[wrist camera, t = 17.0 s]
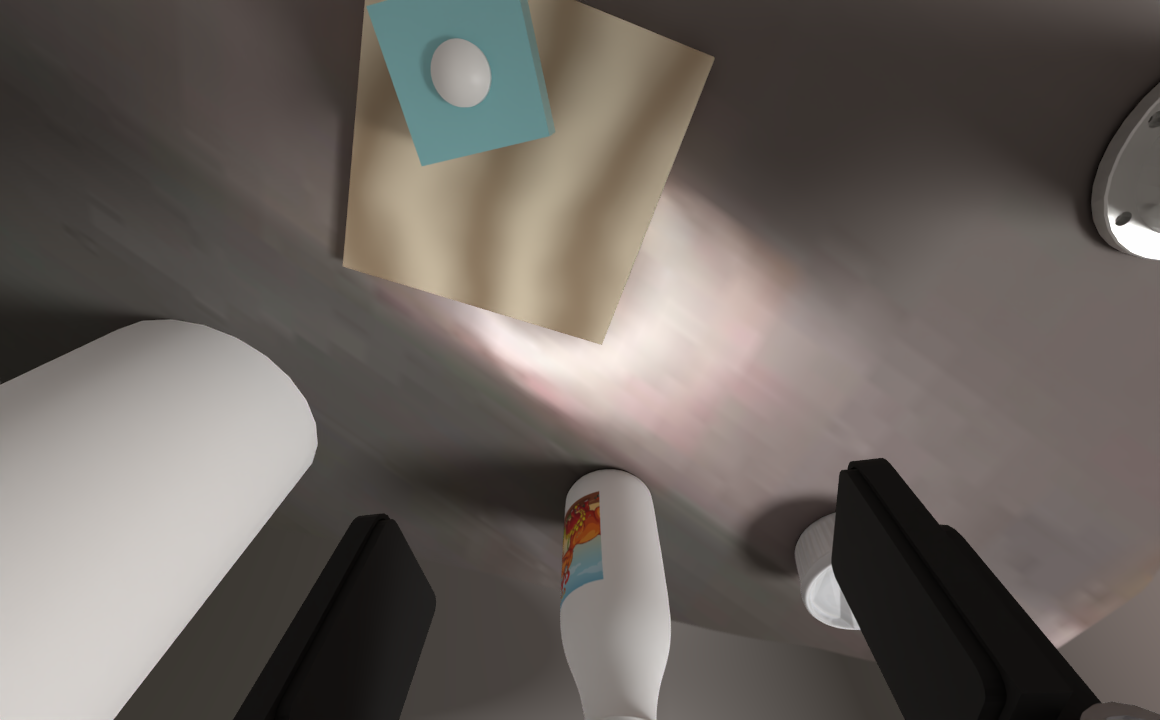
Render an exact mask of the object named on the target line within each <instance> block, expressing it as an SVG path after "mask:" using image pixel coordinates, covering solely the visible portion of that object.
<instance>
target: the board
mask: <svg viewBox="0 0 1160 720" xmlns="http://www.w3.org/2000/svg"><path fill="white" fill-rule="evenodd" d="M383 1H386V0H365V6H364V18H363V30H362V42H361V54H360V66H359V78H358V90H357V102H356V114H355V126H354V138H353V150H352V162H351V174H350V186H349V198H348V210H347V222H346V234H345V246H344V258H343V267H347V268H350V269H353V270H357V271H360V272H363V273H366V274H370V275H373V276H376V277H380V278H383V279H386V280H390V281H393V282H396V283H399V284H403V285H406V286H409V287H413V288H416V289H419V290H423V291H426V292H429V293H433V294H436V295H439V296H442V297H446V298H449V299H452V300H456V301H459V302H462V303H466V304H469V305H472V306H475V307H479V308H482V309H485V310H489V311H492V312H495V313H499V314H502V315H505V316H509V317H512V318H515V319H518V320H522V321H525V322H528V323H532V324H535V325H538V326H542V327H545V328H548V329H551V330H555V331H558V332H561V333H565V334H568V335H571V336H575V337H578V338H581V339H584V340H588V341H591V342H594V343H598V344H601V345H602V343H603V340H604V338H605V335H606V333H607V330H608V328H609V325H610V323H611V320H612V317H613V315H614V312H615V310H616V307H617V305H618V302H619V300H620V297H621V295H622V292H623V290H624V287H625V285H626V282H627V279H628V277H629V274H630V272H631V269H632V267H633V264H634V262H635V259H636V257H637V254H638V252H639V249H640V246H641V244H642V241H643V239H644V236H645V234H646V231H647V229H648V226H649V224H650V221H651V219H652V216H653V214H654V211H655V208H656V206H657V203H658V201H659V198H660V196H661V193H662V191H663V188H664V186H665V183H666V181H667V178H668V176H669V173H670V170H671V168H672V165H673V163H674V160H675V158H676V155H677V153H678V150H679V148H680V145H681V143H682V140H683V137H684V135H685V132H686V130H687V127H688V125H689V122H690V120H691V117H692V115H693V112H694V110H695V107H696V105H697V102H698V99H699V97H700V94H701V92H702V89H703V87H704V84H705V82H706V79H707V77H708V74H709V72H710V69H711V67H712V64H713V61H714V59H715V57H713V56H710V55H708V54H706V53H703V52H701V51H698V50H696V49H693V48H691V47H688V46H686V45H683V44H681V43H679V42H676V41H674V40H671V39H669V38H666V37H664V36H661V35H659V34H657V33H654V32H652V31H649V30H647V29H644V28H642V27H639V26H637V25H634V24H632V23H630V22H627V21H625V20H622V19H620V18H617V17H615V16H612V15H610V14H608V13H605V12H603V11H600V10H598V9H595V8H593V7H590V6H588V5H585V4H583V3H581V2H578V1H576V0H528V5H529V10H530V14H531V19H532V24H533V28H534V33H535V38H536V42H537V47H538V52H539V57H540V61H541V66H542V71H543V75H544V80H545V85H546V89H547V94H548V99H549V104H550V108H551V113H552V118H553V122H554V127H555V133H553V134H552V135H551V136H548V137H544V138H540V139H536V140H531V141H527V142H523V143H519V144H514V145H510V146H506V147H502V148H498V149H493V150H489V151H485V152H481V153H476V154H472V155H468V156H464V157H460V158H455V159H451V160H447V161H443V162H438V163H434V164H430V165H426V166H421V163H420V160H419V157H418V154H417V151H416V148H415V146H414V143H413V140H412V137H411V134H410V131H409V128H408V125H407V122H406V120H405V117H404V114H403V111H402V108H401V105H400V102H399V99H398V97H397V94H396V91H395V88H394V85H393V82H392V79H391V76H390V73H389V71H388V68H387V65H386V62H385V59H384V56H383V53H382V50H381V48H380V45H379V42H378V39H377V36H376V33H375V30H374V27H373V24H372V22H371V19H370V16H369V13H368V10H367V7H366V6H368V5H372V4H376V3H379V2H383Z"/></svg>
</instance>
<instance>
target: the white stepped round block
mask: <svg viewBox="0 0 1160 720" xmlns="http://www.w3.org/2000/svg"><path fill="white" fill-rule="evenodd" d="M317 445H318V444H317V432H316V423H315V420H314V418H313V415H312V413H311V410H310V408H309V406H308V403H307V401H306V399H305V398H304V396H303V395H302V394H301V392H300V391H299V390H298V388H297V387H296V385H295V384H294V383H293V381H292V380H291V379H290V377H289V376H288V375H286V374H285V373H284V372H283V371H282V370H281V369H280V368H279V367H278V366H276V365H275V364H274V363H273V362H272V361H271V360H270V359H269V358H268V357H267V356H265V355H264V354H262V353H260V352H259V351H257V350H256V349H254V348H252V347H251V346H249V345H248V344H246V343H244V342H243V341H241V340H239V339H238V338H236V337H233V336H231V335H228V334H226V333H223V332H221V331H218V330H216V329H213V328H210V327H208V326H205V325H201V324H195V323H190V322H184V321H179V320H173V319H168V320H147V321H140V322H137V323H135V324H132V325H129V326H126V327H123V328H121V329H118V330H116V331H114V332H111V333H109V334H107V335H105V336H103V337H101V338H99V339H97V340H94V341H92V342H90V343H88V344H86V345H84V346H82V347H80V348H77V349H75V350H73V351H71V352H69V353H67V354H65V355H63V356H60V357H58V358H56V359H54V360H52V361H50V362H48V363H46V364H43V365H41V366H39V367H37V368H35V369H33V370H31V371H29V372H27V373H24V374H22V375H20V376H18V377H16V378H14V379H12V380H10V381H7V382H5V383H3V384H1V385H0V720H113V719H114V718H115V717H116V715H117V714H118V713H119V711H120V710H121V709H122V707H123V706H124V705H125V704H126V702H127V701H128V700H129V698H130V697H131V696H132V695H133V693H134V692H135V691H136V689H137V688H138V687H139V685H140V684H141V683H142V682H143V680H144V679H145V678H146V677H147V675H148V674H149V673H150V671H151V670H152V669H153V668H154V666H155V665H156V664H157V662H158V661H159V660H160V658H161V657H162V656H163V655H164V653H165V652H166V651H167V649H168V648H169V647H170V645H171V644H172V643H173V641H174V640H175V639H176V638H177V636H178V635H179V634H180V633H181V631H182V630H183V629H184V628H185V626H186V625H187V624H188V622H189V621H190V620H191V618H192V617H193V616H194V615H195V613H196V612H197V611H198V610H199V608H200V607H201V606H202V604H203V603H204V601H206V599H207V598H208V597H209V595H210V594H211V593H212V591H213V590H214V589H215V587H216V586H217V585H218V584H219V582H220V581H221V580H222V579H223V577H224V576H225V575H226V573H227V572H228V571H229V570H230V568H231V567H232V565H233V564H234V563H235V562H236V561H237V559H238V558H239V557H240V555H241V554H242V553H243V552H244V550H245V549H246V548H247V546H248V545H249V543H250V542H251V541H252V540H253V538H254V537H255V536H256V535H257V533H258V532H259V531H260V530H261V528H262V527H263V526H264V524H265V523H266V522H267V521H268V519H269V518H270V517H271V515H272V514H273V513H274V512H275V510H276V509H277V508H278V506H279V505H280V504H281V503H282V501H283V500H284V499H285V497H286V496H287V495H288V494H289V492H290V491H291V490H292V488H293V487H294V486H295V485H296V483H297V482H298V481H299V479H300V478H301V477H302V475H303V474H304V473H305V472H306V470H307V469H308V468H309V466H310V465H311V464H312V462H313V459H314V455H315V452H316V448H317Z"/></svg>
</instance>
